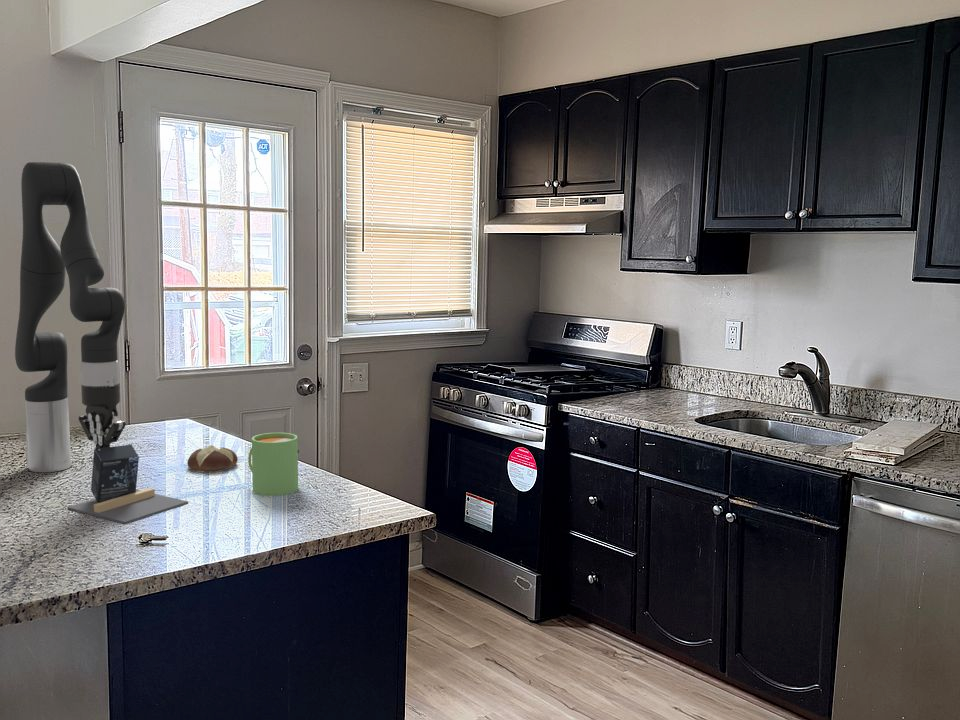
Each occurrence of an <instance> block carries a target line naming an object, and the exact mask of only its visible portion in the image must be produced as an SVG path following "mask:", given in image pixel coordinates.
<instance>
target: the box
mask: <svg viewBox="0 0 960 720" xmlns="http://www.w3.org/2000/svg"><path fill="white" fill-rule="evenodd" d="M139 461H140V457H139V454H138V453H137V451H136V450H135V447H133V445H132V444H126V445H125V444H124V445H117V446H110V447H106V448H96V447H95V448H93V460H92V472H91V473H92V474H91V483H90V484H91V485H90V487H91V488H90V491H91V493H92V495H93V498H94V499H96V501H97V503H100V502H104V501H107V500H111V499H114V498H118V497H121V496H124V495H128V494H131V493H135V492H136V490H137V480H138V473H139V472H138V470H139Z"/></svg>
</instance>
